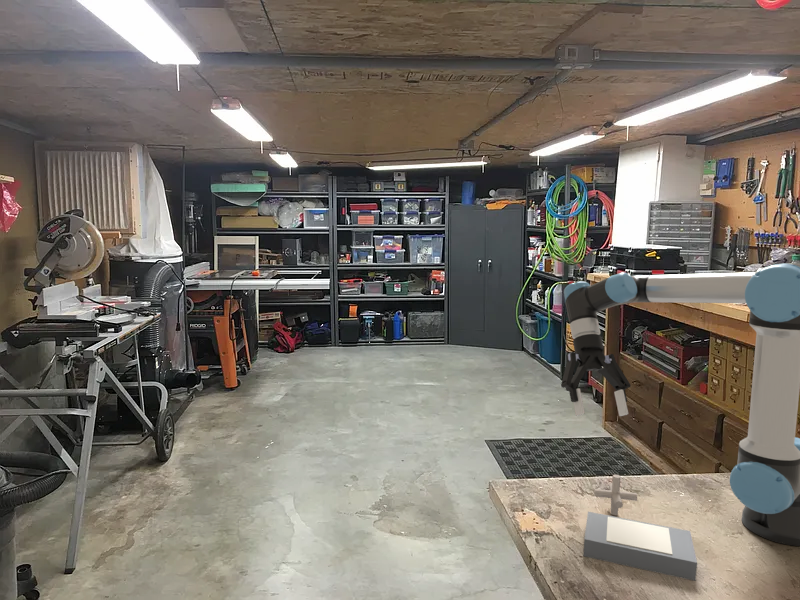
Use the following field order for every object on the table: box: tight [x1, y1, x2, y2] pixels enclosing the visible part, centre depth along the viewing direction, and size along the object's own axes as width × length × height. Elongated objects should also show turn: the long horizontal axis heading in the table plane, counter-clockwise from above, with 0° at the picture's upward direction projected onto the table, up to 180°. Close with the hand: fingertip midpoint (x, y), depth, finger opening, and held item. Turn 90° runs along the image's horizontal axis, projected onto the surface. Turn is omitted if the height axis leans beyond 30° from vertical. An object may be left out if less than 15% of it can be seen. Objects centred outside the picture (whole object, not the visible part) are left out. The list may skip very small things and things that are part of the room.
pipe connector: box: [593, 474, 638, 516], centre depth 139 cm, size 10×10×10 cm
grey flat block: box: [582, 511, 698, 582], centre depth 123 cm, size 22×13×4 cm, turn 68°
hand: (602, 415), depth 142 cm, fingers open, 13 cm apart
